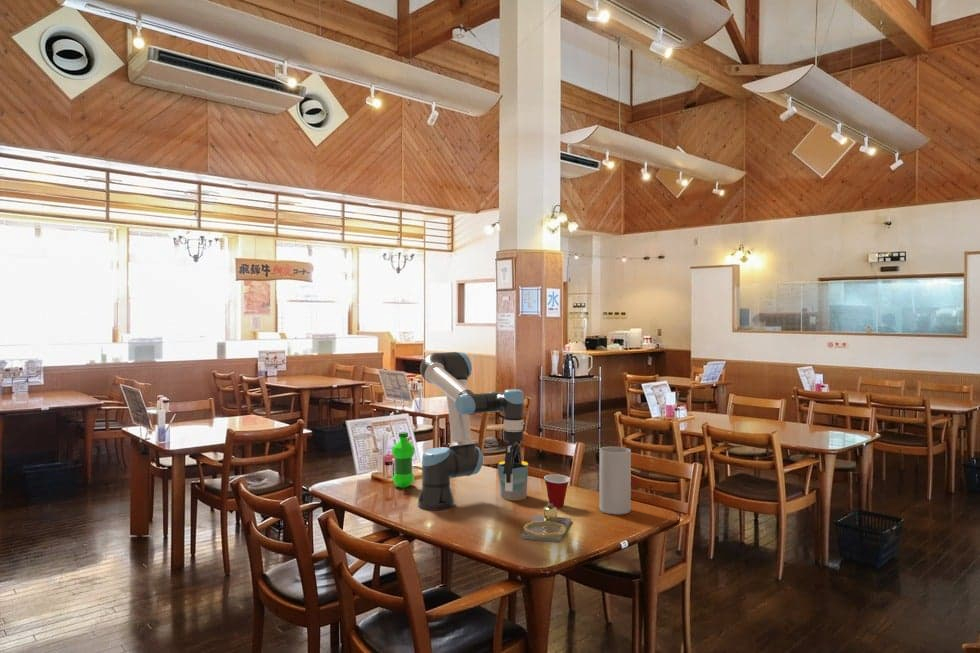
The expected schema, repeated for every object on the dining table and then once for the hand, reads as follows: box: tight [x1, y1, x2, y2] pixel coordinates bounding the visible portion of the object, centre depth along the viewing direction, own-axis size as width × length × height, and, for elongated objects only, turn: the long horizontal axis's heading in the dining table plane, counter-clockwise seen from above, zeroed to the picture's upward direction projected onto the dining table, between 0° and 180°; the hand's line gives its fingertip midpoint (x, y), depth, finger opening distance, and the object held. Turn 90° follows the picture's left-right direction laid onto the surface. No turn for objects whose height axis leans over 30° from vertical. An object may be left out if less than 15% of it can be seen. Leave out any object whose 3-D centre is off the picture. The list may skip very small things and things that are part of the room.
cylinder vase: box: [598, 446, 632, 516], centre depth 263 cm, size 12×12×25 cm
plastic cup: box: [543, 474, 571, 509], centre depth 269 cm, size 11×11×12 cm
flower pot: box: [497, 463, 529, 490], centre depth 247 cm, size 9×9×9 cm
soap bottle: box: [498, 460, 529, 501], centre depth 284 cm, size 13×13×21 cm
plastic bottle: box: [391, 431, 416, 489], centre depth 302 cm, size 10×10×25 cm
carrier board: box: [520, 502, 572, 543], centre depth 239 cm, size 15×25×8 cm, turn 164°
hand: (512, 486), depth 247 cm, fingers closed on flower pot, 11 cm apart
